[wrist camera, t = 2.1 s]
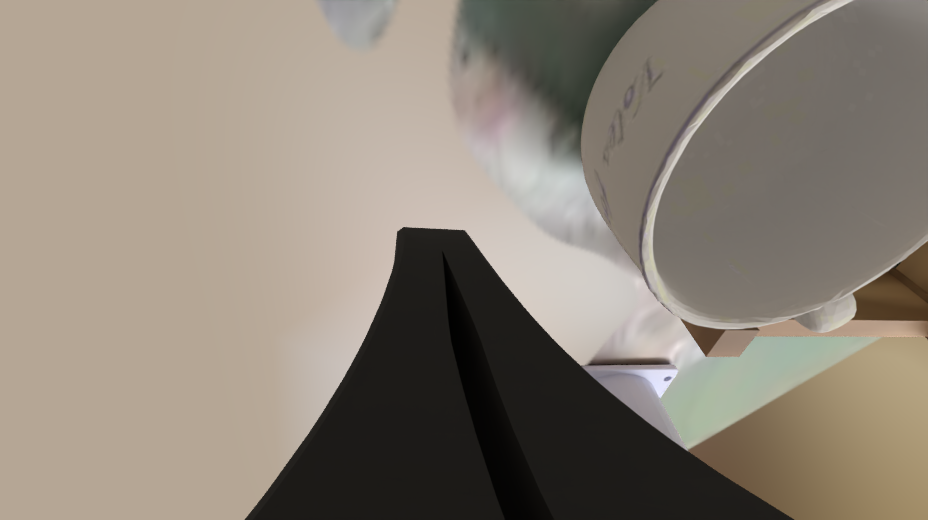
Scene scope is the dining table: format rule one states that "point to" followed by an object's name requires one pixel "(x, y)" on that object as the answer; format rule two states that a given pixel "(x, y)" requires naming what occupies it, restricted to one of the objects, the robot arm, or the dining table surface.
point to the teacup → (763, 153)
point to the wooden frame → (878, 315)
